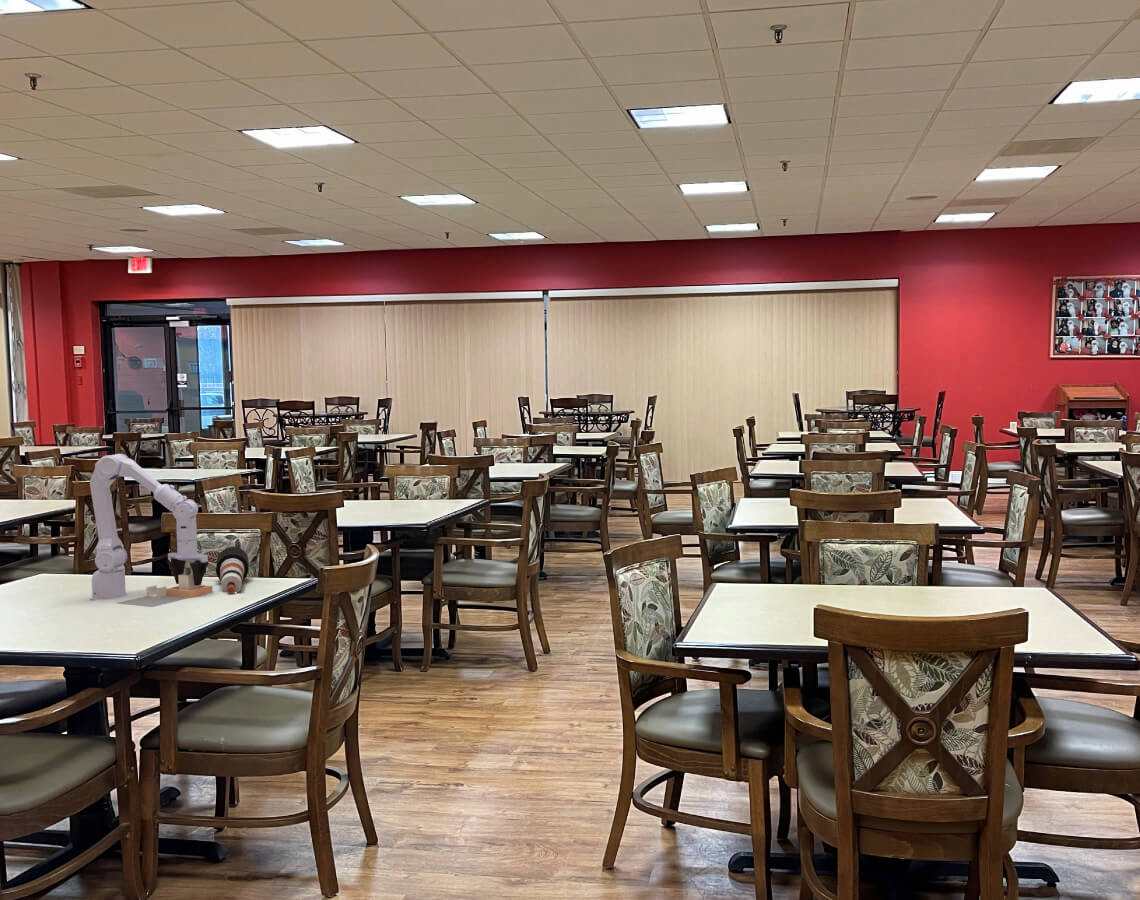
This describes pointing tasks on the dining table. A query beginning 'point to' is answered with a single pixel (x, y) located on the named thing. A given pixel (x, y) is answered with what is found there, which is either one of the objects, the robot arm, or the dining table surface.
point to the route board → (152, 601)
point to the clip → (156, 592)
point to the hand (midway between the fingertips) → (188, 584)
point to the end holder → (189, 591)
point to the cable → (232, 568)
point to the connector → (187, 580)
